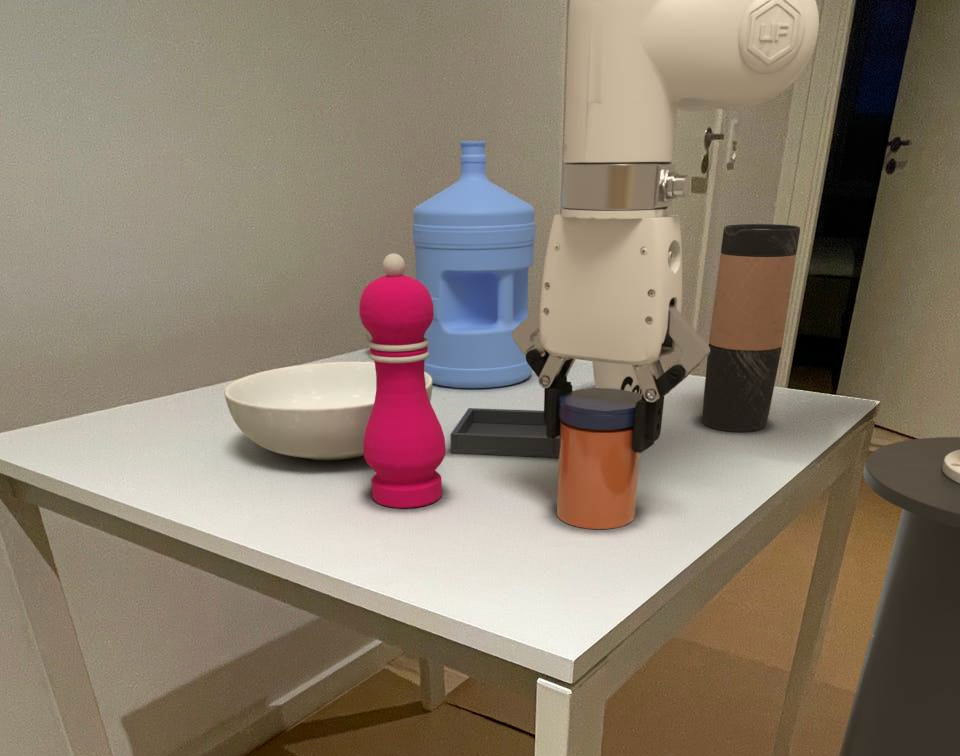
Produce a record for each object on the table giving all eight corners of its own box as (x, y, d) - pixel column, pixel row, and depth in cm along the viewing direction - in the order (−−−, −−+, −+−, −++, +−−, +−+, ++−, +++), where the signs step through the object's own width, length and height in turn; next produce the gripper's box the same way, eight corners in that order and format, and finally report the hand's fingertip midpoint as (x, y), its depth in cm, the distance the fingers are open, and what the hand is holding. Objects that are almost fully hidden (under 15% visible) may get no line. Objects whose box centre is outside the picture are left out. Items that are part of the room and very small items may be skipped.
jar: (635, 502, 74) (644, 397, 69) (634, 531, 68) (644, 418, 64) (560, 498, 75) (564, 394, 70) (553, 527, 69) (557, 415, 65)
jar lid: (612, 402, 71) (613, 384, 71) (663, 421, 66) (665, 402, 65) (542, 413, 69) (542, 394, 68) (590, 434, 63) (591, 414, 63)
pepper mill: (389, 479, 80) (373, 248, 70) (459, 487, 77) (453, 250, 67) (352, 504, 74) (329, 257, 64) (427, 515, 72) (415, 259, 62)
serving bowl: (394, 412, 100) (390, 352, 97) (466, 461, 84) (465, 392, 81) (217, 435, 93) (206, 371, 89) (259, 494, 76) (247, 419, 73)
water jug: (397, 374, 117) (384, 142, 103) (486, 359, 126) (484, 142, 112) (463, 396, 107) (458, 139, 93) (555, 378, 115) (564, 139, 101)
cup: (624, 413, 99) (631, 324, 94) (573, 401, 104) (576, 316, 99) (666, 401, 103) (674, 315, 98) (615, 390, 109) (620, 308, 104)
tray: (567, 429, 94) (568, 411, 92) (559, 457, 85) (560, 438, 84) (468, 425, 95) (468, 407, 94) (451, 453, 87) (450, 434, 86)
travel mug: (773, 418, 96) (805, 224, 86) (763, 436, 90) (796, 230, 80) (706, 411, 99) (730, 223, 89) (692, 428, 93) (716, 228, 83)
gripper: (753, 192, 58) (719, 445, 67) (532, 190, 66) (528, 416, 75) (719, 197, 53) (686, 471, 62) (483, 194, 61) (484, 437, 69)
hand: (599, 439), depth 68 cm, fingers closed on jar lid, 6 cm apart
